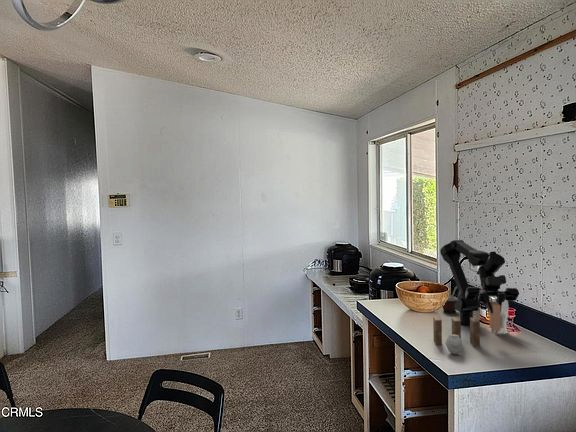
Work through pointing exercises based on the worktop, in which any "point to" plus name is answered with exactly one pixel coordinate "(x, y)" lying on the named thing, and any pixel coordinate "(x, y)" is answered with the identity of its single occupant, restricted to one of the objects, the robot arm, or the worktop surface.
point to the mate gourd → (450, 303)
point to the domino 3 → (475, 332)
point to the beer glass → (501, 316)
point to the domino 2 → (456, 326)
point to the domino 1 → (437, 330)
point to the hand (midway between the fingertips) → (495, 313)
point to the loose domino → (495, 317)
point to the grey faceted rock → (454, 344)
